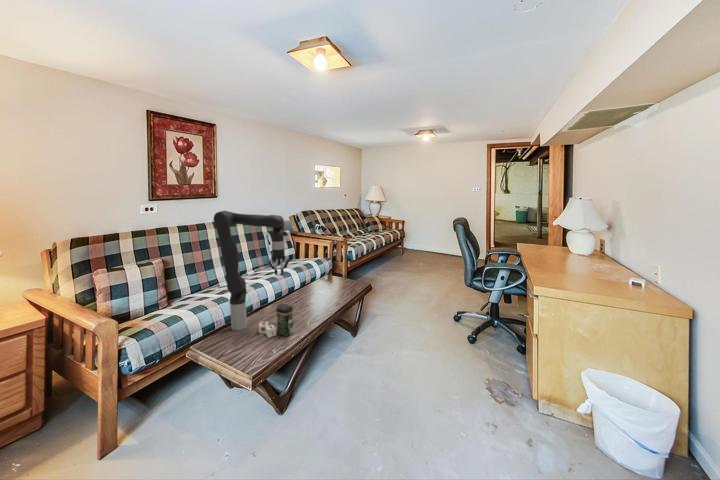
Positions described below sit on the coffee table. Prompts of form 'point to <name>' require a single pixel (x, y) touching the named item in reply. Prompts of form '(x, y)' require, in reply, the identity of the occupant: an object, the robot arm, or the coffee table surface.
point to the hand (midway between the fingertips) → (279, 274)
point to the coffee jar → (284, 319)
